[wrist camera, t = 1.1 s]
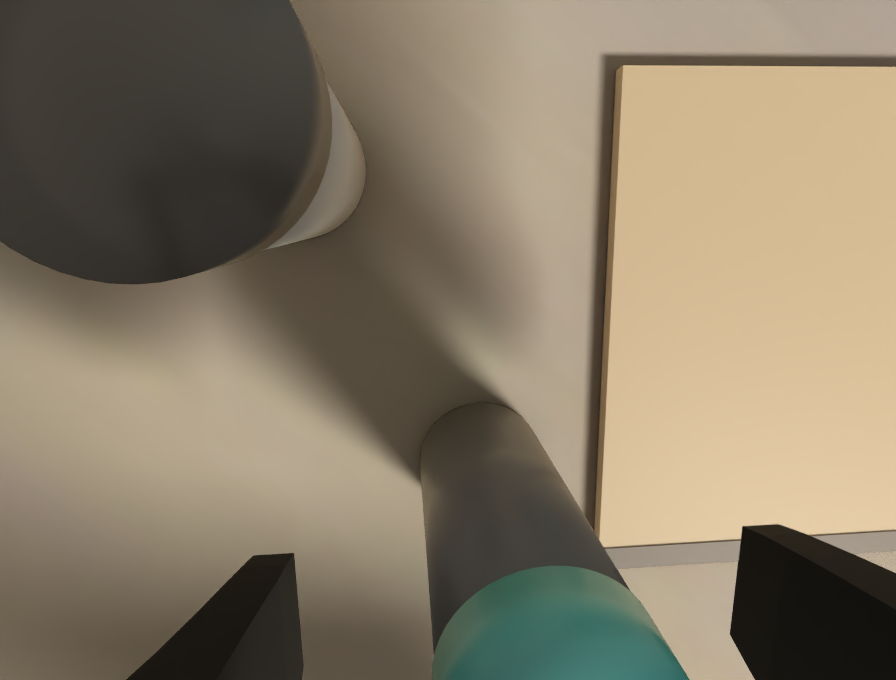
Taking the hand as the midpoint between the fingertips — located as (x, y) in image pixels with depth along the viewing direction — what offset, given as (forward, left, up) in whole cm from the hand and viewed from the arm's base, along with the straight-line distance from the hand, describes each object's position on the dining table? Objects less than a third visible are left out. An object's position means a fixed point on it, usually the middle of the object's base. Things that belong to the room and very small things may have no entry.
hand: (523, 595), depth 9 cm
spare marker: (+7, +4, -5) cm, 10 cm away
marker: (0, 0, -5) cm, 5 cm away
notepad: (+3, -11, -5) cm, 13 cm away
